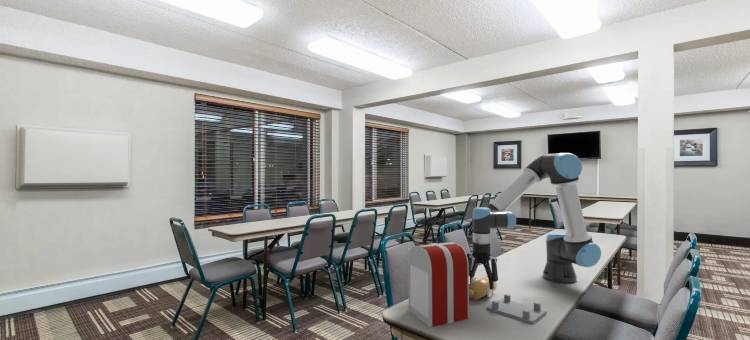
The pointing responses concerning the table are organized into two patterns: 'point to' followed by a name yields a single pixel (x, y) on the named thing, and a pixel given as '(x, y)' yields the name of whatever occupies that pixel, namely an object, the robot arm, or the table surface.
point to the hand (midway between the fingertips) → (481, 293)
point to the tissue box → (439, 283)
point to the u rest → (517, 310)
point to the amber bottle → (479, 288)
